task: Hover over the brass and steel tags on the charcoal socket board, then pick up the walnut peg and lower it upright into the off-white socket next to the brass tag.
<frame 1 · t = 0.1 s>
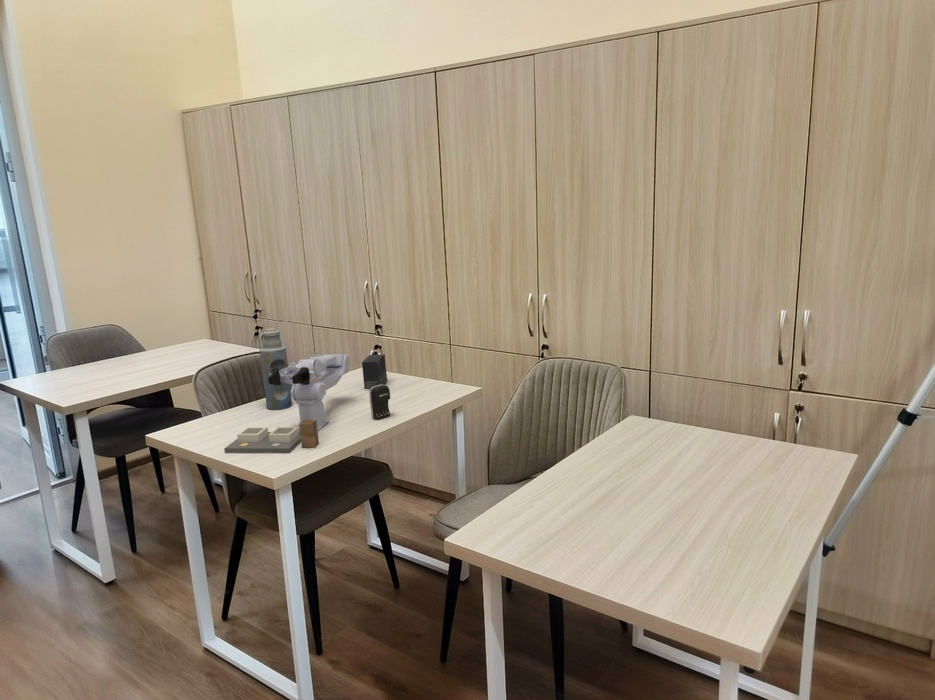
hand: (281, 380, 201), 22 cm above the table, tool horizontal, fingers open, 7 cm apart
bottle: (279, 406, 251), on the table
walnut peg: (310, 446, 206), on the table
battery charger: (382, 418, 231), on the table
small box: (376, 386, 274), on the table
socket board: (267, 444, 210), on the table
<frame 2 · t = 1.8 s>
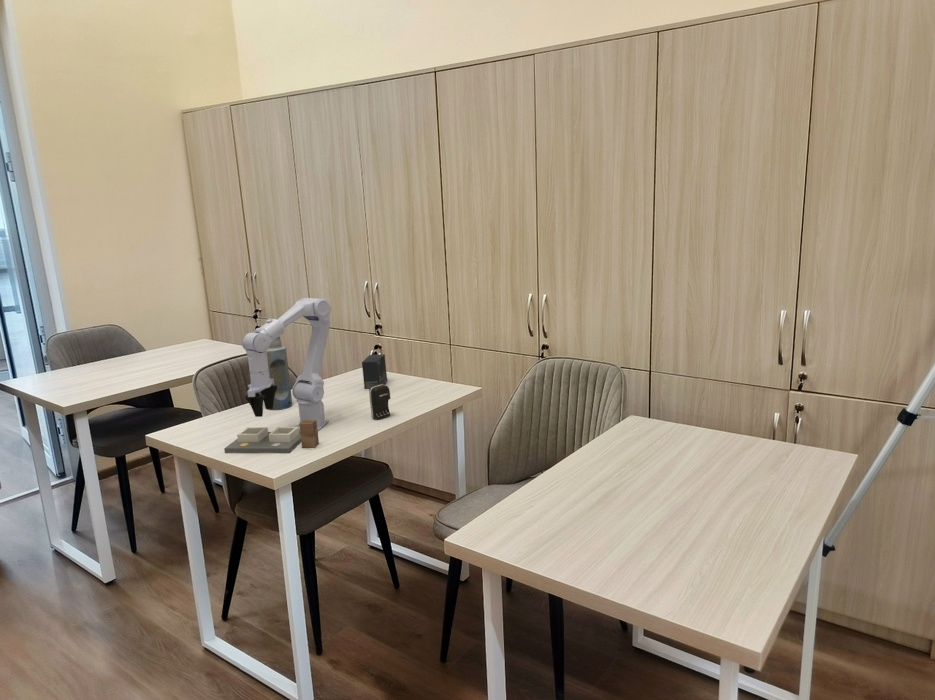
hand: (264, 412, 208), 10 cm above the table, tool pointing down, fingers open, 7 cm apart
nothing on the table moved.
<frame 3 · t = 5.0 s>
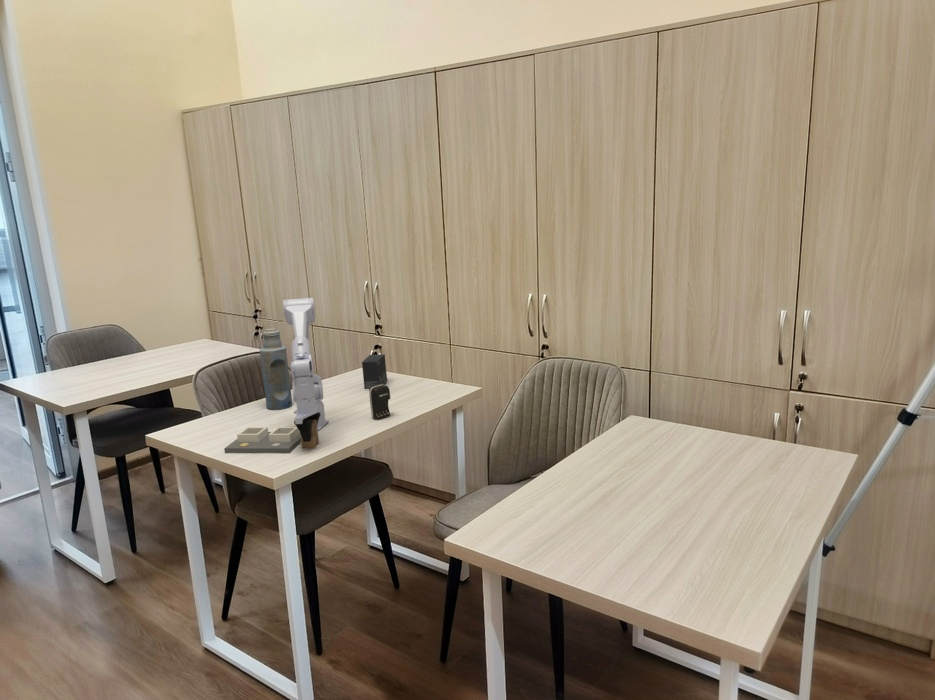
hand: (309, 438, 206), 2 cm above the table, tool pointing down, fingers closed on walnut peg, 4 cm apart
walnut peg: (310, 446, 206), on the table, touching gripper
everything else where it was.
when the fingers open (5 cm above the table, at t = 9.7 s): walnut peg stays where it is, resting on socket board.
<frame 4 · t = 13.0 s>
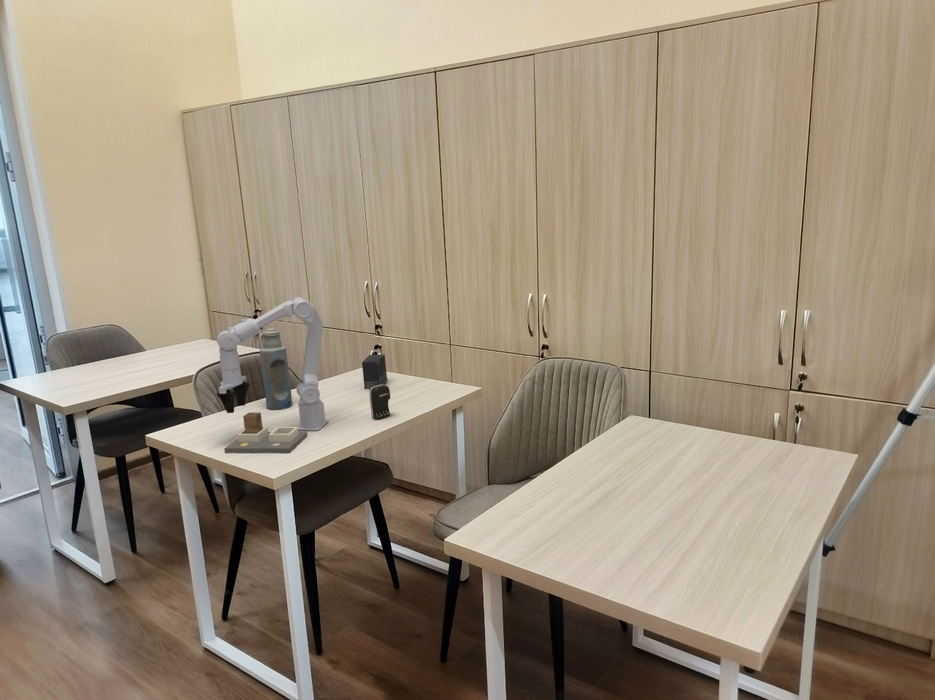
hand: (236, 409, 214), 10 cm above the table, tool pointing down, fingers open, 7 cm apart
walnut peg: (254, 438, 212), point 1 cm above the table, touching socket board
everything else where it was.
at the end: walnut peg 0.6 cm from the target spot, point 1.5 cm above the table; walnut peg tilted 0°; the gripper is holding nothing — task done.
